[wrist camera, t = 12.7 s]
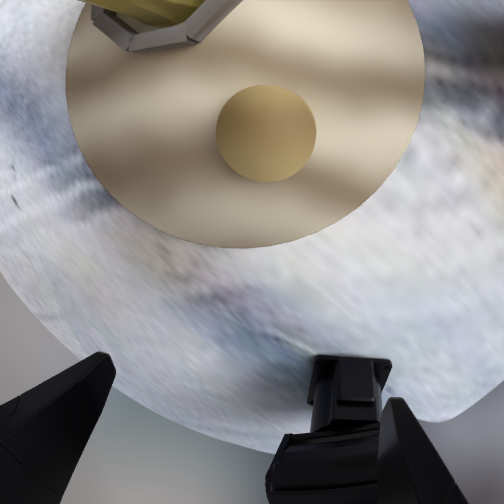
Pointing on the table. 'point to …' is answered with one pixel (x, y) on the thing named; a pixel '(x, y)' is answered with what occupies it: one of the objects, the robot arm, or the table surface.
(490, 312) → the table surface
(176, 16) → the vase
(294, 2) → the disc
